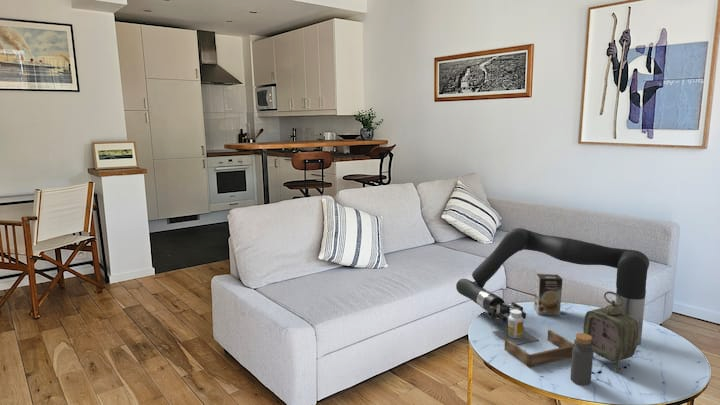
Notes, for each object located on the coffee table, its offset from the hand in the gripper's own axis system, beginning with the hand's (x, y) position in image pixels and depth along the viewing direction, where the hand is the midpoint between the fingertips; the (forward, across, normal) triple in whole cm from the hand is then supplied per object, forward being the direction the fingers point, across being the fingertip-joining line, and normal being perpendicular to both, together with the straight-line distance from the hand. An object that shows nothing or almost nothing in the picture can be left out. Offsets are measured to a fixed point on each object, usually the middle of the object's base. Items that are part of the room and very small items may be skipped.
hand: (515, 318), depth 175 cm
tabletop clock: (+27, +17, +8) cm, 33 cm away
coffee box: (-13, +26, +8) cm, 30 cm away
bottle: (+32, 0, +8) cm, 33 cm away
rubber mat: (0, 0, +7) cm, 7 cm away
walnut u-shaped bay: (+13, 0, +7) cm, 15 cm away
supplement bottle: (0, 0, +7) cm, 7 cm away
